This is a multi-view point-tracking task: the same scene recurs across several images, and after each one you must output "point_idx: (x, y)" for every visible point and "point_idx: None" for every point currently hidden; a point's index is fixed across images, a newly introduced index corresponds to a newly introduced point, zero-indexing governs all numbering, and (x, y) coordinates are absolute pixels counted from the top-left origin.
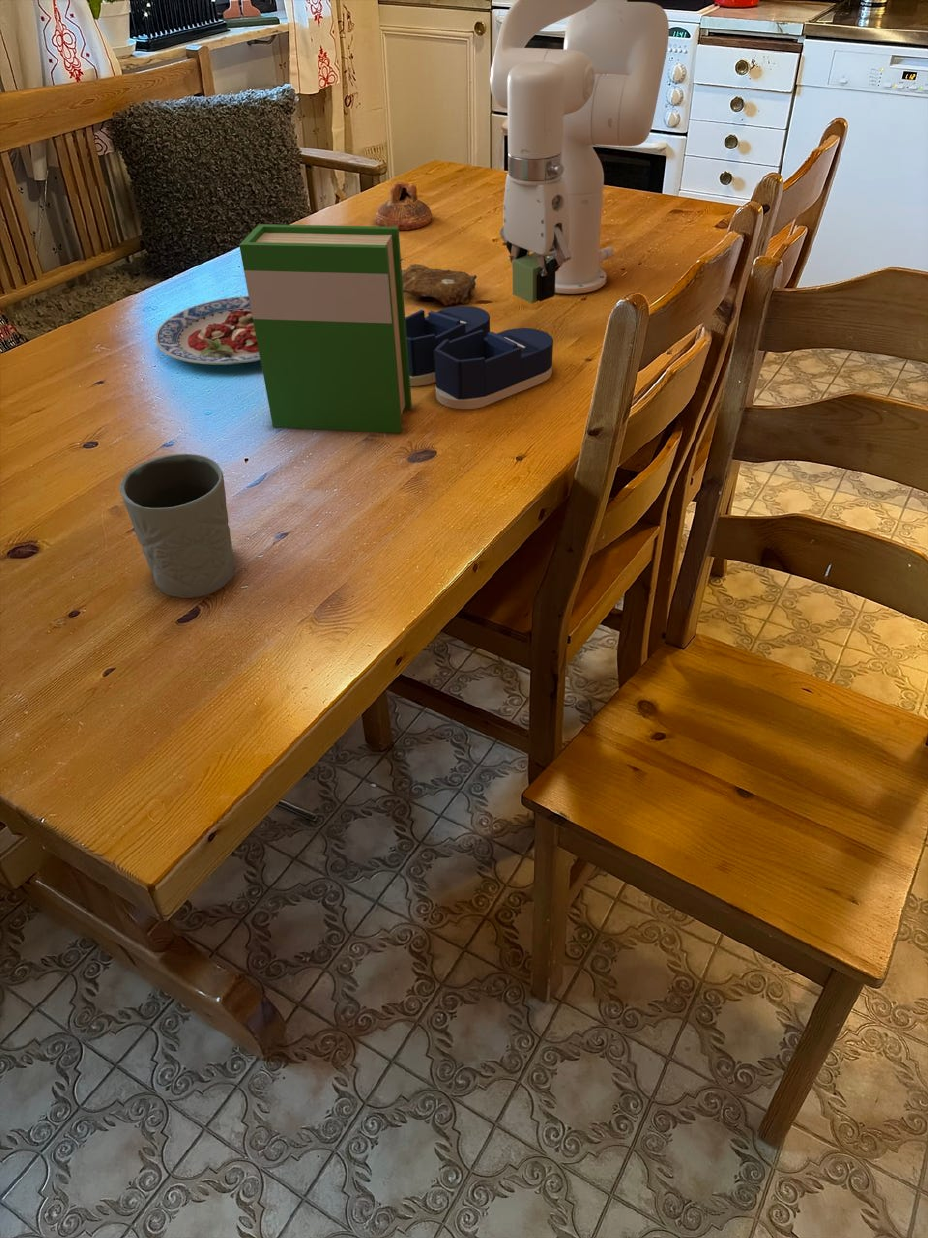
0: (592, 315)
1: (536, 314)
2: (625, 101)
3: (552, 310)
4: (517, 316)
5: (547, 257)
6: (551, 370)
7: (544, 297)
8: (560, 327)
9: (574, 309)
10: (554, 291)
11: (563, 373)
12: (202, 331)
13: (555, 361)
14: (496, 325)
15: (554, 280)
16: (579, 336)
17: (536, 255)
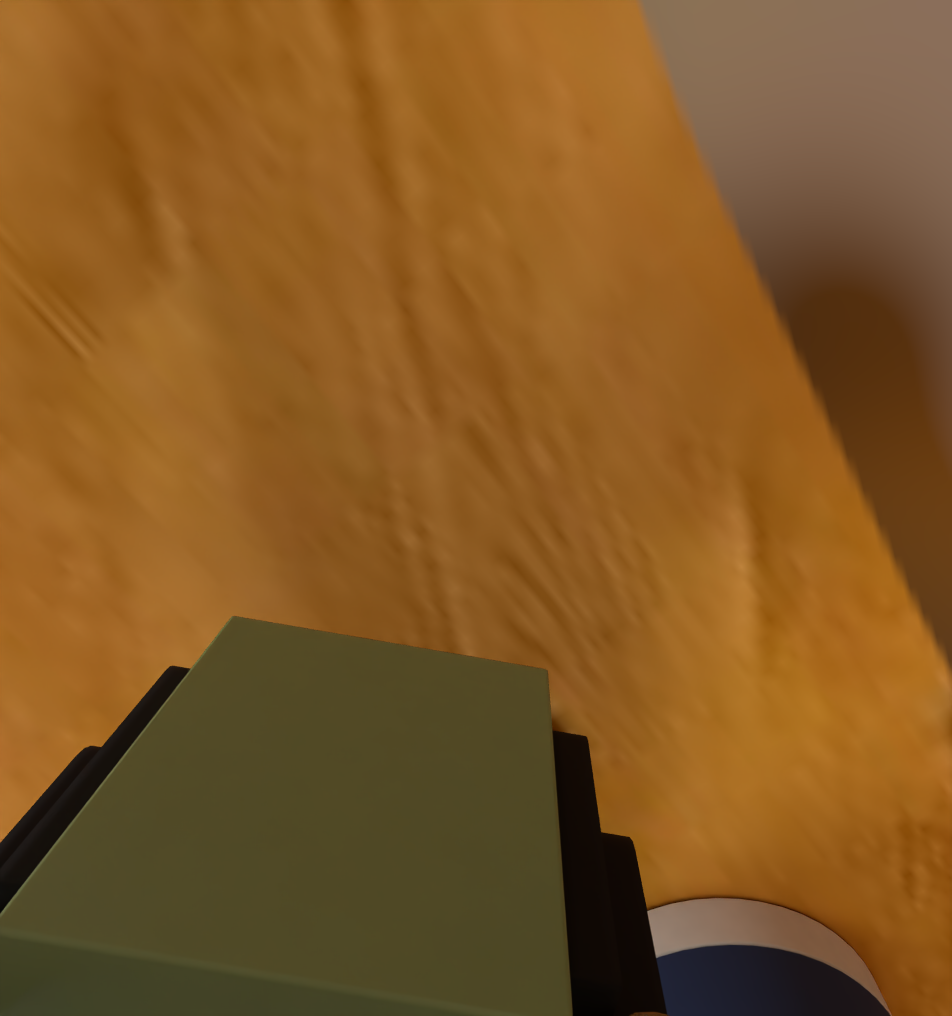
0: (596, 55)
1: (231, 345)
2: None
3: (268, 196)
4: (158, 460)
5: (349, 998)
6: (884, 1000)
7: None
8: (525, 428)
9: (393, 48)
10: (588, 759)
11: (920, 925)
12: None
13: (797, 840)
14: (169, 654)
15: (601, 862)
16: (732, 473)
17: (123, 1013)
